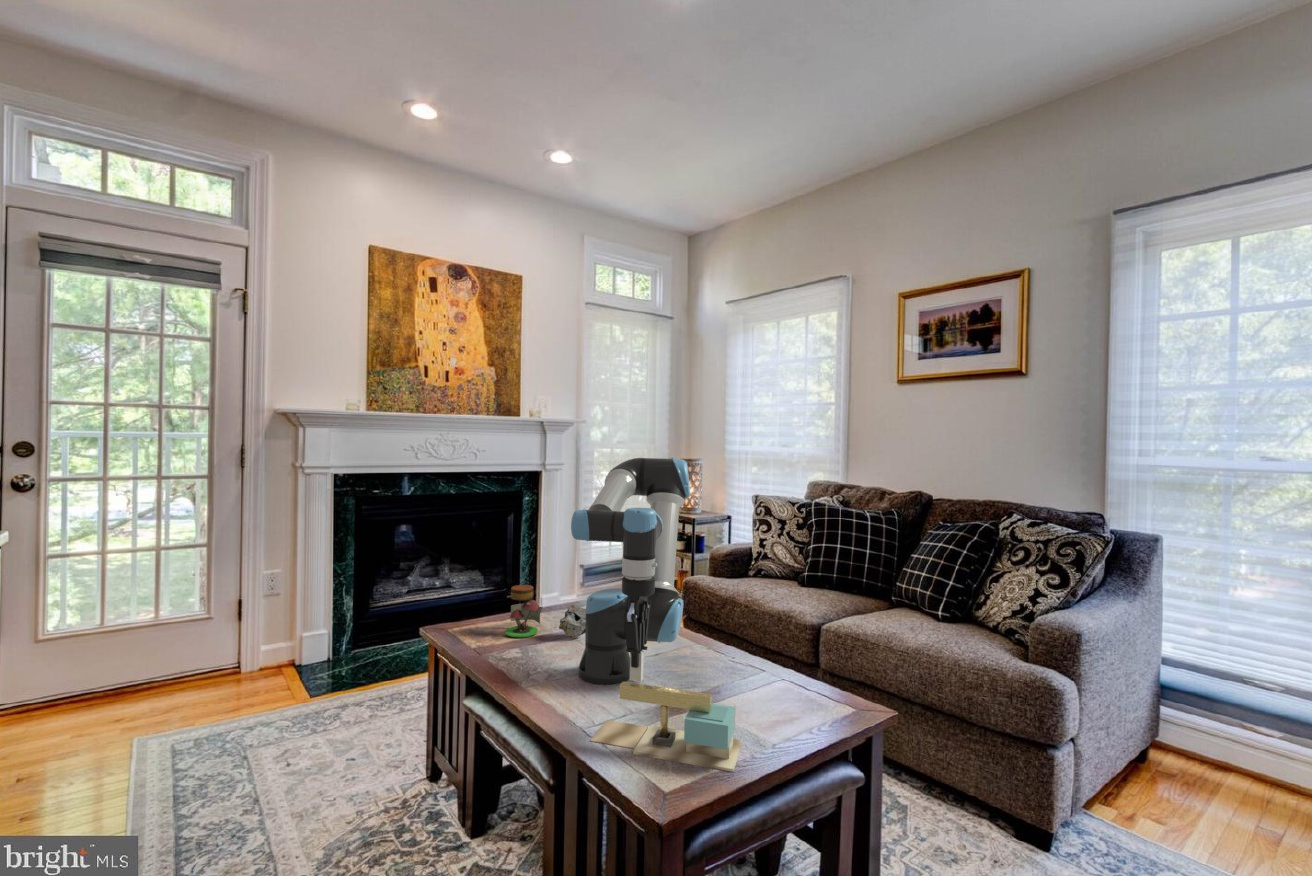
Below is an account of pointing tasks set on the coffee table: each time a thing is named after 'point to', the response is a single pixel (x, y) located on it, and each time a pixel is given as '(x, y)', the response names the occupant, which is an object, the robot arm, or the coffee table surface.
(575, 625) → the mineral specimen
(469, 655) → the coffee table surface
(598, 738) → the pad
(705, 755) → the housing
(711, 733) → the cover
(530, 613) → the mushroom figurine
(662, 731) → the t key
